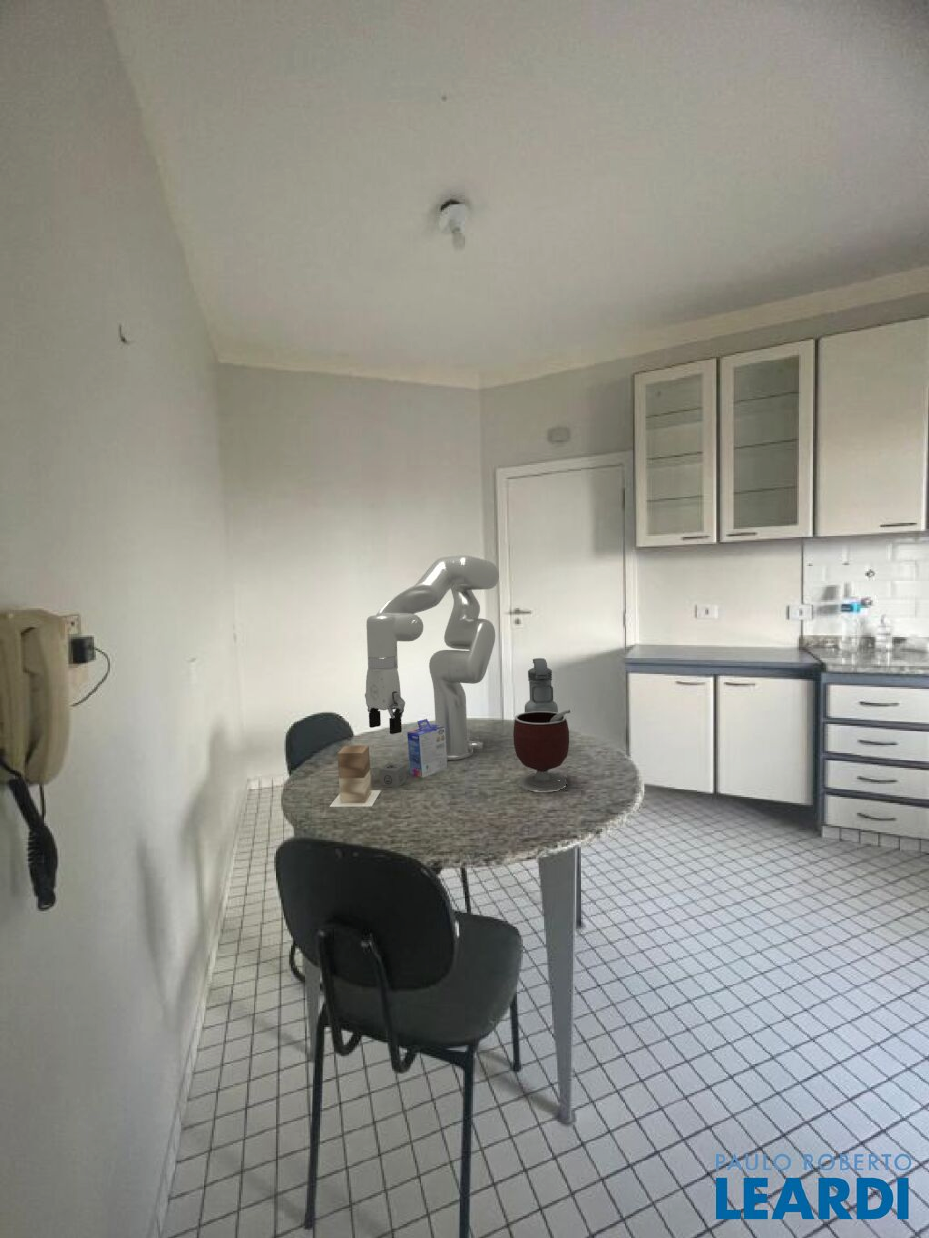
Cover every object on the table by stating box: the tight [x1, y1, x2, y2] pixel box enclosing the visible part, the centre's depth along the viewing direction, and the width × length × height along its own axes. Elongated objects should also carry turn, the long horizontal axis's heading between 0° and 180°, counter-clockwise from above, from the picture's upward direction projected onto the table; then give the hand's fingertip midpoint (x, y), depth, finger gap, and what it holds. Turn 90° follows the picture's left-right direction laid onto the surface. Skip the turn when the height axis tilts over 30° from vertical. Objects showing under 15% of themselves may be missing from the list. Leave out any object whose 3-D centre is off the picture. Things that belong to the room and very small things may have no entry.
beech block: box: [338, 769, 372, 803], centre depth 133 cm, size 6×6×6 cm
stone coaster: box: [329, 789, 382, 808], centre depth 133 cm, size 10×10×1 cm
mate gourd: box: [512, 709, 571, 791], centre depth 138 cm, size 16×14×20 cm
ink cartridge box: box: [407, 718, 448, 778], centre depth 151 cm, size 10×6×14 cm, turn 137°
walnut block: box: [337, 744, 371, 779], centre depth 133 cm, size 6×6×6 cm
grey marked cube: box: [378, 762, 407, 789], centre depth 142 cm, size 5×5×5 cm
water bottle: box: [524, 657, 559, 713], centre depth 163 cm, size 10×10×28 cm
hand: (385, 729), depth 142 cm, fingers open, 9 cm apart
